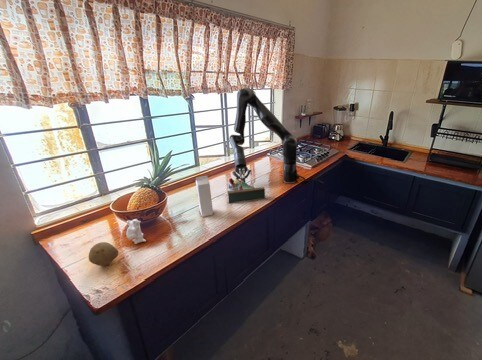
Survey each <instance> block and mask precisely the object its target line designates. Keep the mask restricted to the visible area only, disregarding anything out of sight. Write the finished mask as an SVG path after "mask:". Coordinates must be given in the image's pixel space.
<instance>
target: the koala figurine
mask: <svg viewBox="0 0 482 360" xmlns="http://www.w3.org/2000/svg"><path fill="white" fill-rule="evenodd" d="M141 222H142V221H141V220H138V218H134V219H132V220H130V219H128V220H126V224H127V225H128V227H127V229H126V233H125V235H126V238H127V239H128V240H129V241H132V242H133V243H134V245H137V244H140V243H145V242H147V240H146V239H145V238H144V234H145V233H143V232H142V229H141Z"/></svg>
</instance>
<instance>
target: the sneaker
mask: <svg viewBox="0 0 482 360" xmlns="http://www.w3.org/2000/svg"><path fill="white" fill-rule="evenodd" d="M252 188H255V187H254V186H252V185H249V184H248V183H247V182H246V181H245V182H244V181H243V180H240V179H238V178H236V177H235V179H233V178H229V179H228V191H235V190H243V189H252Z"/></svg>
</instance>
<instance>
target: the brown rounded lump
mask: <svg viewBox="0 0 482 360" xmlns="http://www.w3.org/2000/svg"><path fill="white" fill-rule="evenodd" d="M118 256H119V250H118V249H117V248H116V247H115V246H114V245H112V244H111V243H110V242H107V241H101V242H98V243H95V244H94V245H93V246H92V247H91V248H90V250H89V252H88V261H89V262H90V263H91V264H93V265H96V266H99V267H107V266H109V265H110V264H111V263H112V262H113V261H114V260H116V258H118Z"/></svg>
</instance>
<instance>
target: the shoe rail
mask: <svg viewBox="0 0 482 360" xmlns="http://www.w3.org/2000/svg"><path fill="white" fill-rule="evenodd" d="M227 195H228V196H227V197H228V204H232V203H240V202H248V201H249V202H250V201H257V200H261V199H262V200H263V199H266V188H265V186H261V187H254V188H252V189H243V190H235V191H229V190H228V191H227Z"/></svg>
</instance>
